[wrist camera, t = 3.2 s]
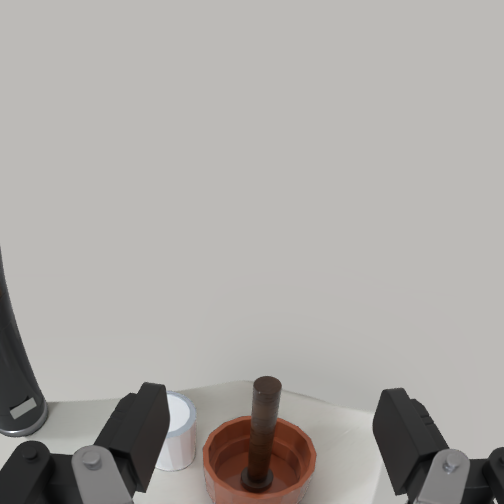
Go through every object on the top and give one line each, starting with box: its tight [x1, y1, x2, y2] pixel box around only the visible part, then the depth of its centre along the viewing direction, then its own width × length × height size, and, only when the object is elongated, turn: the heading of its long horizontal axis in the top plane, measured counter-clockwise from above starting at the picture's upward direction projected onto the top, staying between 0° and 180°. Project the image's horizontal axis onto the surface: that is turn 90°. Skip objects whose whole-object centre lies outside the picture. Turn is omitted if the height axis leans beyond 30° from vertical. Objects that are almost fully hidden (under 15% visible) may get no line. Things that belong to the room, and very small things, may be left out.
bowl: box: [203, 416, 317, 504], centre depth 24 cm, size 10×10×6 cm
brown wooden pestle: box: [241, 376, 282, 493], centre depth 23 cm, size 3×3×14 cm
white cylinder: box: [155, 391, 196, 471], centre depth 27 cm, size 7×7×7 cm
